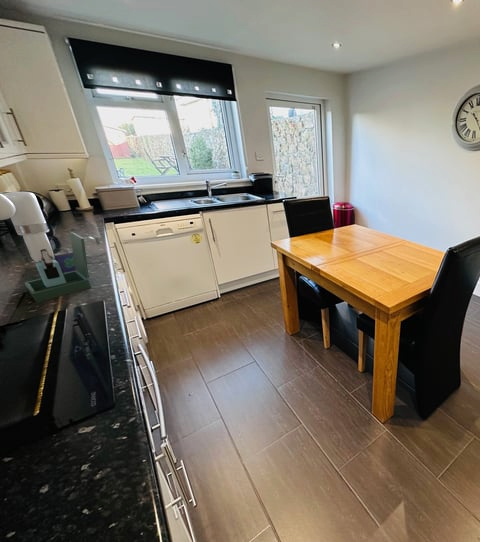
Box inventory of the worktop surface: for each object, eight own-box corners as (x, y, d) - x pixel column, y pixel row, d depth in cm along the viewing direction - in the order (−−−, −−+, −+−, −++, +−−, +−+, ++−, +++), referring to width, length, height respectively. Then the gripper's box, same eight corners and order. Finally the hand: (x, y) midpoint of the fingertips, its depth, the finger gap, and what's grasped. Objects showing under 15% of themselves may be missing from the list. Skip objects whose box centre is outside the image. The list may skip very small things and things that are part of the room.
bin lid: (80, 238, 104) (99, 238, 108) (69, 231, 111) (87, 231, 115) (86, 278, 108) (104, 276, 112) (75, 269, 115) (92, 267, 120)
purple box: (87, 267, 129) (79, 245, 125) (90, 268, 128) (81, 246, 124) (60, 273, 122) (50, 250, 118) (62, 275, 121) (52, 252, 117)
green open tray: (37, 304, 99) (32, 293, 97) (29, 292, 106) (23, 282, 105) (92, 289, 110) (88, 279, 108) (80, 279, 118) (76, 270, 116)
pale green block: (46, 287, 103) (37, 266, 100) (44, 284, 105) (34, 263, 102) (66, 283, 107) (58, 262, 104) (63, 280, 109) (55, 259, 106)
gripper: (11, 226, 100) (32, 273, 106) (20, 234, 91) (43, 285, 98) (42, 223, 105) (60, 268, 112) (53, 230, 97) (72, 278, 104)
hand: (52, 275), depth 105 cm, fingers closed on pale green block, 4 cm apart
